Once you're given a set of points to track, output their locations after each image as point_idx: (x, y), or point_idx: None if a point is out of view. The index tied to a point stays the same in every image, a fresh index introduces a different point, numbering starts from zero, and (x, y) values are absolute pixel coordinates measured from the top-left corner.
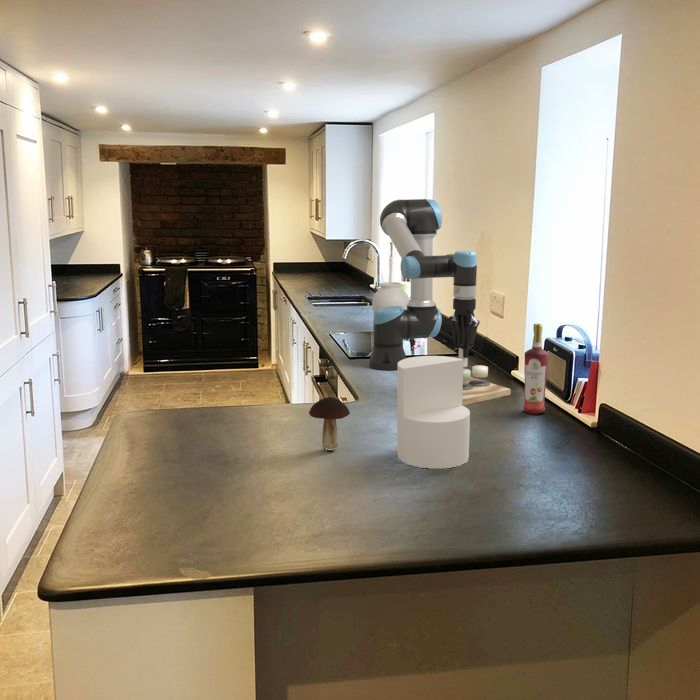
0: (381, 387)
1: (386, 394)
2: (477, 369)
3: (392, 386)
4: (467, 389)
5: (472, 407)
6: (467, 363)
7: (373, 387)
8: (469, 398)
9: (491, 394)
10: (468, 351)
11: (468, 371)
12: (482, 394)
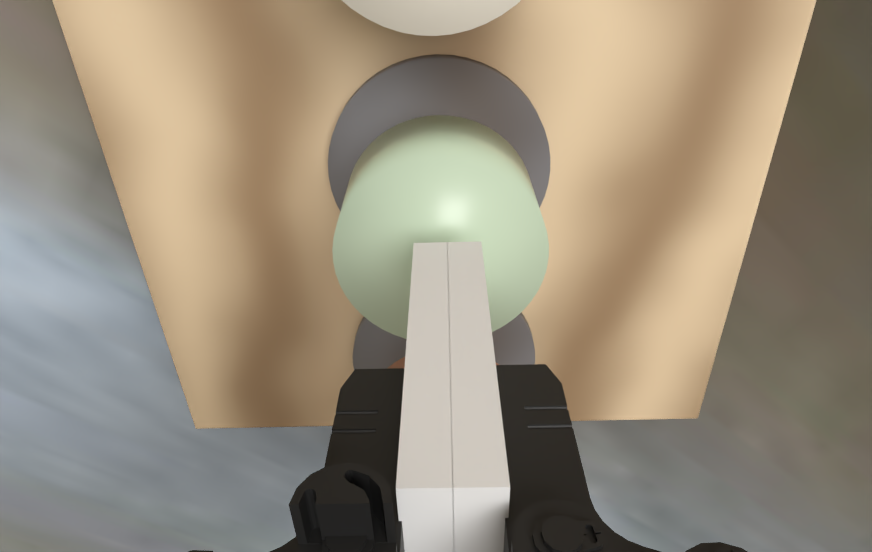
0: (34, 490)
1: (205, 531)
2: (494, 14)
3: (26, 437)
4: (542, 187)
5: (774, 320)
6: (483, 265)
7: (20, 519)
8: (723, 317)
9: (792, 57)
10: (579, 463)
11: (527, 232)
12: (747, 166)
